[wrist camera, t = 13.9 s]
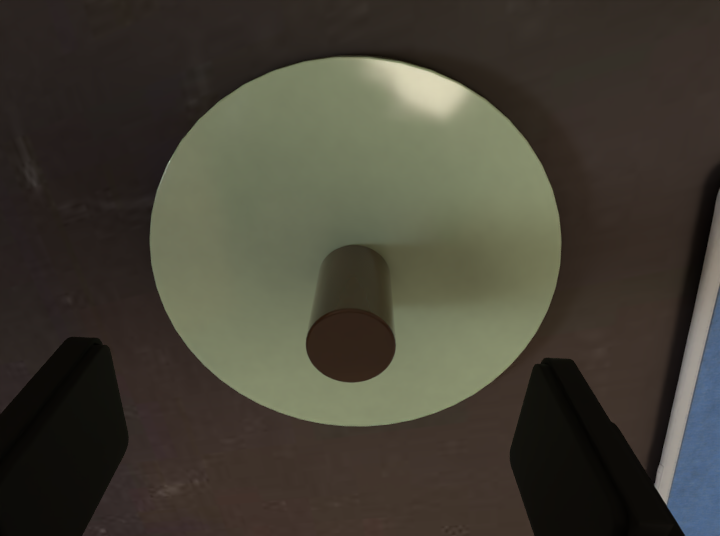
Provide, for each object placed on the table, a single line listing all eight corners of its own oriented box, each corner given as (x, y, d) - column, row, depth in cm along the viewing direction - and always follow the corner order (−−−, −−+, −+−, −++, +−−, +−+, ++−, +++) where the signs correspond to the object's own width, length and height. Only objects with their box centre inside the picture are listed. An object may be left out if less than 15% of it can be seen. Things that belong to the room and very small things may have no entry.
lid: (507, 414, 21) (547, 528, 16) (183, 396, 21) (130, 506, 16) (597, 68, 15) (702, 95, 10) (135, 38, 15) (26, 50, 10)
